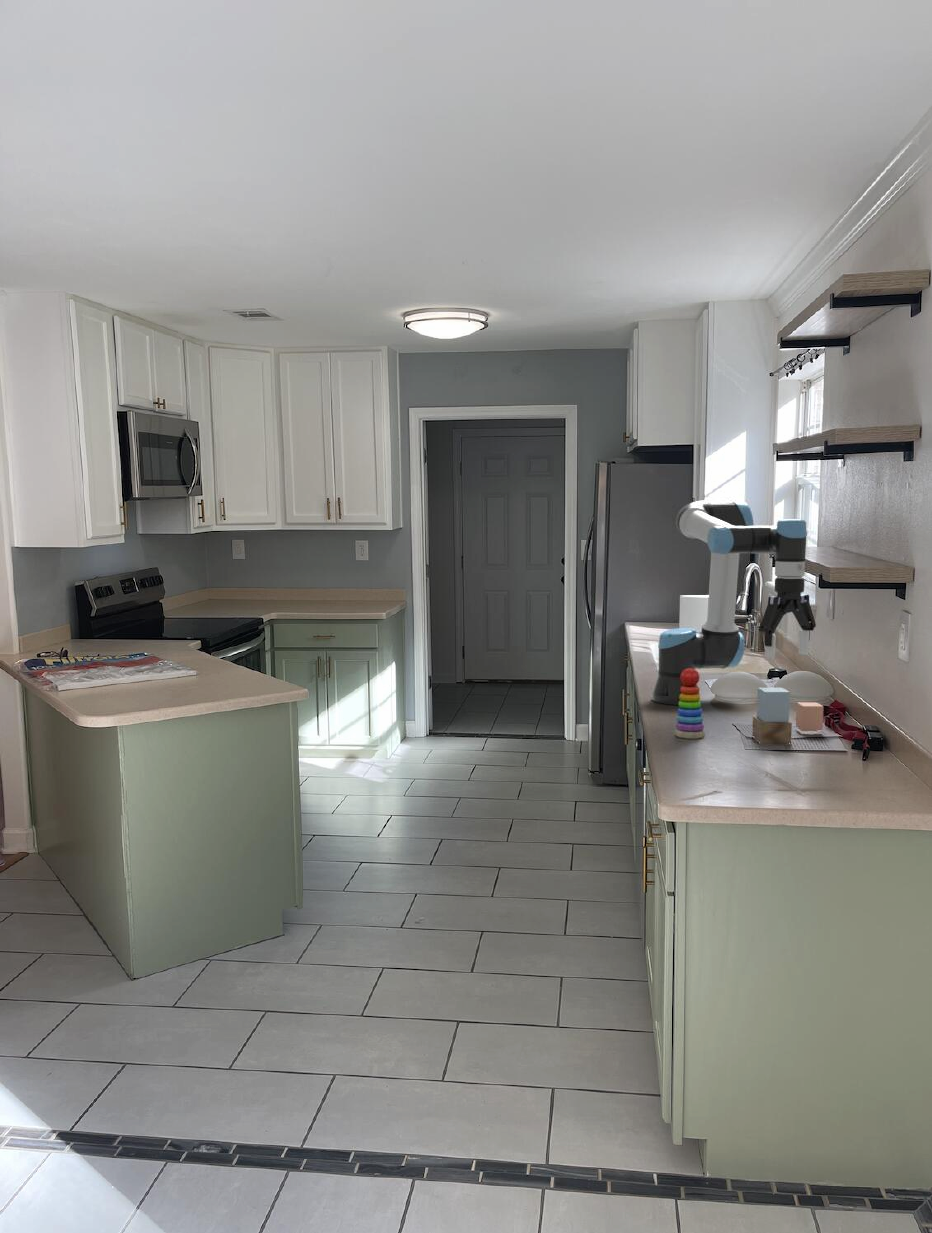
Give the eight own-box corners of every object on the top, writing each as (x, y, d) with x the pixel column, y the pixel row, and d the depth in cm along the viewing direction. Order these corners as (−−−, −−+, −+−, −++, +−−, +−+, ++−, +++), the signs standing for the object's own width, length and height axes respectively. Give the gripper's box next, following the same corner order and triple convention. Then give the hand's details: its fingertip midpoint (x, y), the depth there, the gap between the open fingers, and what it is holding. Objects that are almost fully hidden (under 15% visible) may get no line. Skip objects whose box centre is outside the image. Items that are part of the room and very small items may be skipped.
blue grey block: (764, 721, 255) (765, 692, 255) (756, 716, 262) (757, 687, 261) (788, 721, 255) (789, 691, 255) (780, 716, 262) (781, 687, 261)
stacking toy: (707, 734, 266) (709, 667, 264) (701, 740, 259) (703, 671, 257) (678, 731, 270) (680, 665, 268) (672, 737, 262) (673, 669, 260)
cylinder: (728, 667, 380) (730, 597, 377) (685, 668, 379) (686, 597, 376) (713, 661, 397) (715, 593, 394) (672, 661, 396) (673, 593, 393)
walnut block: (760, 744, 255) (761, 722, 255) (752, 737, 263) (752, 716, 262) (791, 745, 255) (791, 722, 254) (781, 738, 263) (782, 716, 262)
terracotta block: (802, 734, 266) (803, 706, 265) (795, 730, 271) (796, 702, 271) (822, 735, 266) (823, 706, 265) (815, 730, 271) (816, 702, 270)
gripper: (769, 580, 248) (766, 662, 250) (831, 576, 261) (828, 654, 263) (746, 578, 254) (744, 658, 256) (808, 574, 267) (805, 650, 270)
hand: (786, 656), depth 260 cm, fingers open, 13 cm apart
